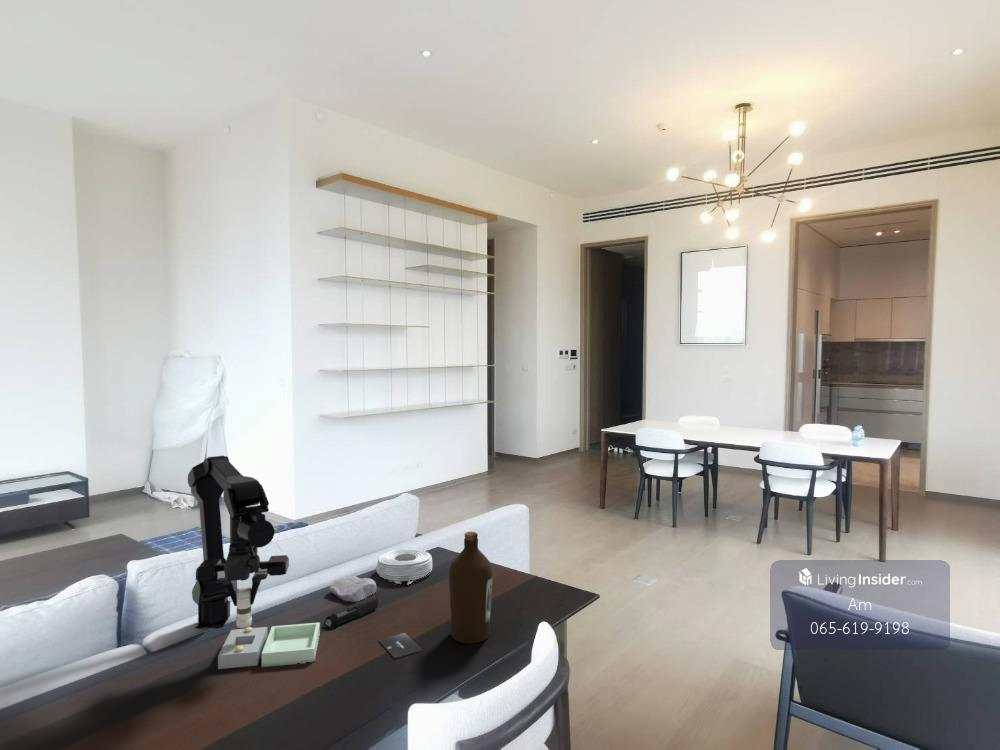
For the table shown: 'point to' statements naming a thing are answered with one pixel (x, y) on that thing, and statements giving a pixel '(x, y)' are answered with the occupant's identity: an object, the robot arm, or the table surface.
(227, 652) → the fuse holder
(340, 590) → the stone block
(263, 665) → the tray
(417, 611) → the table surface
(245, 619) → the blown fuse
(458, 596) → the olive oil
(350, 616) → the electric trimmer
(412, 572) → the cable
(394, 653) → the solid state drive
